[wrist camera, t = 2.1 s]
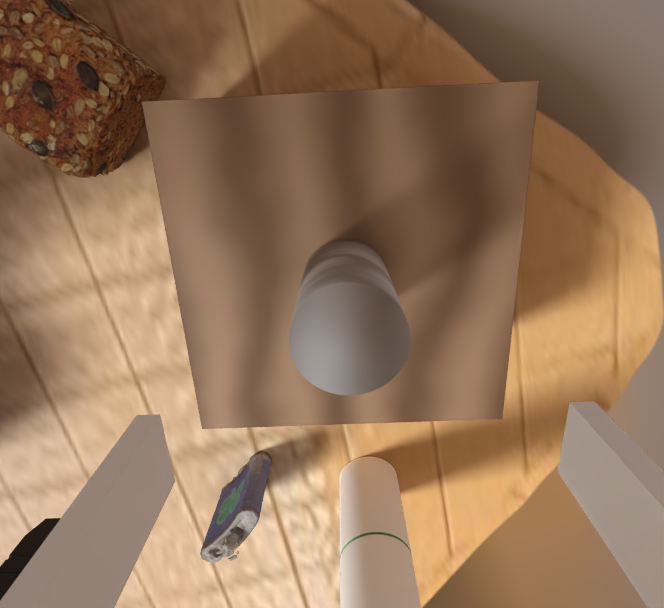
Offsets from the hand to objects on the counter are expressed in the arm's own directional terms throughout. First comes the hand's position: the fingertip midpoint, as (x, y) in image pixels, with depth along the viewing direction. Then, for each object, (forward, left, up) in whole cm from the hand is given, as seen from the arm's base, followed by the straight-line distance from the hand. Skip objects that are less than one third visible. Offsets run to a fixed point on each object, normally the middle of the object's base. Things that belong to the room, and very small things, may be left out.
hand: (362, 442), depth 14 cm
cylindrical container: (+2, -30, -31) cm, 43 cm away
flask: (-13, -29, -31) cm, 44 cm away
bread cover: (0, 0, -31) cm, 31 cm away
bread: (-25, +17, -31) cm, 43 cm away
